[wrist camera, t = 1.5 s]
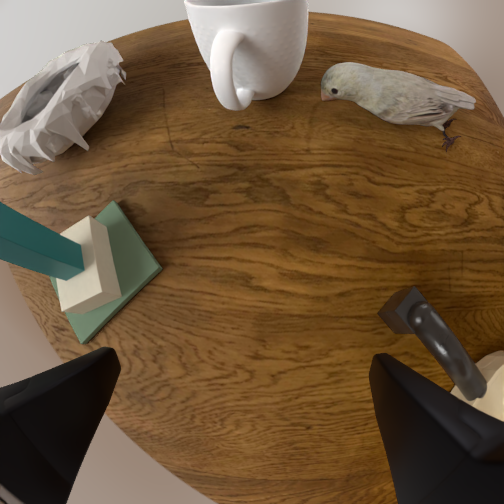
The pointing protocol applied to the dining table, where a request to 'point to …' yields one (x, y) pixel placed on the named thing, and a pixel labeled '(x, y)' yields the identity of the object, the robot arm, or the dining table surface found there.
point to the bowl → (59, 105)
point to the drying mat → (117, 271)
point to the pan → (489, 386)
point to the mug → (249, 45)
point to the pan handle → (434, 339)
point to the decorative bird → (395, 95)
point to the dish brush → (63, 258)
